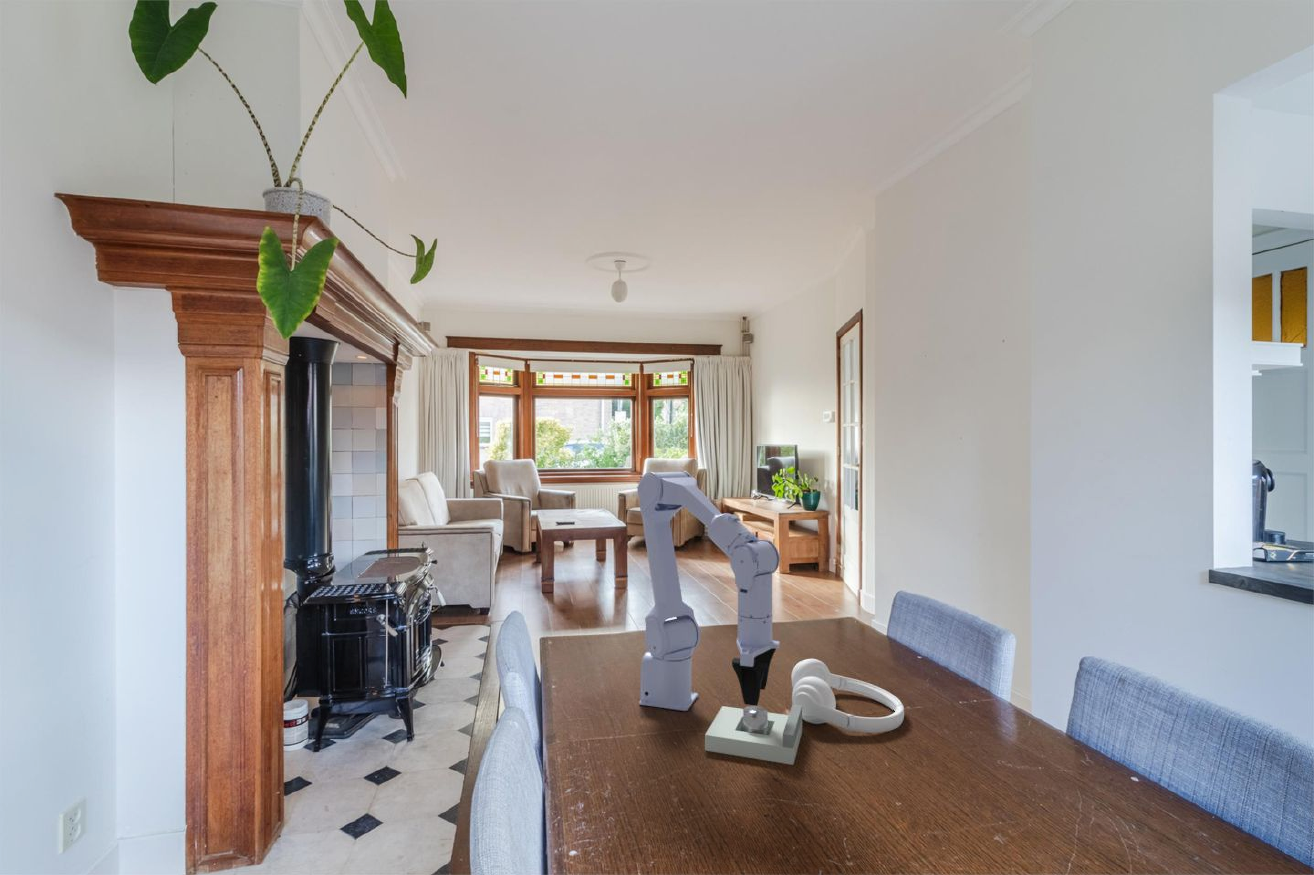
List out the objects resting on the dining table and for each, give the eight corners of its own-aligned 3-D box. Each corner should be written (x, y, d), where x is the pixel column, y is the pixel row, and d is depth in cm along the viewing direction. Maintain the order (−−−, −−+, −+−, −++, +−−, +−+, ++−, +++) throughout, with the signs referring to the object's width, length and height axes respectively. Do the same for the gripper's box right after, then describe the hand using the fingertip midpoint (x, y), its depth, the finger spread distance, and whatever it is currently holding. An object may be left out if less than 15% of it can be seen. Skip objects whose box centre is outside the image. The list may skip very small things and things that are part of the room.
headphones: (789, 729, 109) (912, 752, 105) (794, 683, 109) (917, 705, 105) (789, 687, 128) (892, 705, 124) (793, 648, 128) (896, 665, 124)
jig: (705, 750, 102) (705, 722, 102) (722, 720, 113) (722, 694, 113) (793, 764, 97) (793, 735, 97) (802, 731, 109) (802, 705, 109)
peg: (740, 743, 104) (740, 713, 104) (747, 733, 108) (747, 704, 108) (763, 748, 103) (763, 717, 103) (770, 738, 106) (770, 708, 106)
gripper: (772, 628, 97) (772, 716, 97) (785, 605, 111) (785, 683, 111) (727, 623, 100) (727, 710, 100) (745, 602, 113) (745, 678, 113)
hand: (755, 696), depth 105 cm, fingers open, 6 cm apart
